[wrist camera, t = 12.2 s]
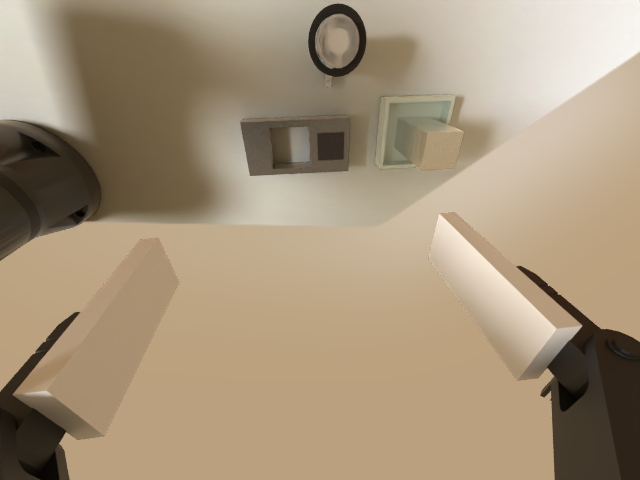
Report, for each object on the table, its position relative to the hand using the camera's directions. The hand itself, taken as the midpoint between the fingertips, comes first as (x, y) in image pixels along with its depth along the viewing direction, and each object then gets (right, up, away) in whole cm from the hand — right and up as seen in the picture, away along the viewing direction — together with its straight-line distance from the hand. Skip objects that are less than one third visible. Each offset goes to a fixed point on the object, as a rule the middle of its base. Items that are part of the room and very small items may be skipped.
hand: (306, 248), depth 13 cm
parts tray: (+13, +16, +25) cm, 32 cm away
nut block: (+13, +16, +24) cm, 32 cm away
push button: (+2, +23, +19) cm, 30 cm away
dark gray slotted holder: (-3, +14, +25) cm, 28 cm away
